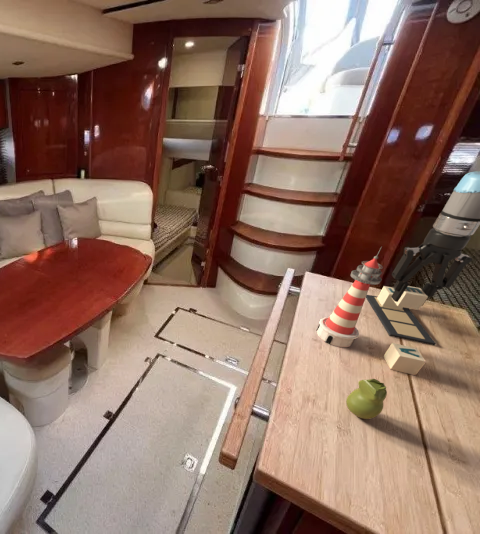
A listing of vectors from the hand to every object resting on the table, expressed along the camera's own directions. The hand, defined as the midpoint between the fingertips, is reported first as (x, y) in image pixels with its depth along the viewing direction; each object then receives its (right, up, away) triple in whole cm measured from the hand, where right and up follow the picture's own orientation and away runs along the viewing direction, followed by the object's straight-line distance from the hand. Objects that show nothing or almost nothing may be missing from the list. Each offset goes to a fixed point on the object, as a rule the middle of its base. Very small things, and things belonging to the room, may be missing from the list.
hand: (406, 301), depth 93 cm
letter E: (0, -1, +1) cm, 1 cm away
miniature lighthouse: (-25, -11, -3) cm, 28 cm away
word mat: (0, -6, +3) cm, 7 cm away
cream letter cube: (-16, -16, -13) cm, 26 cm away
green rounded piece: (-37, -23, -24) cm, 50 cm away
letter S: (+3, -2, +8) cm, 9 cm away
